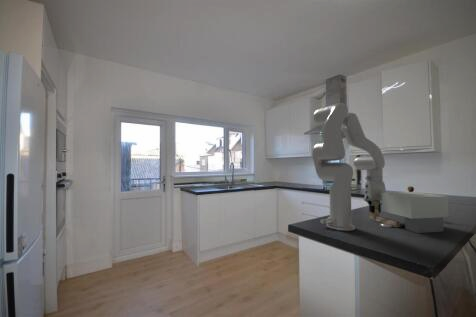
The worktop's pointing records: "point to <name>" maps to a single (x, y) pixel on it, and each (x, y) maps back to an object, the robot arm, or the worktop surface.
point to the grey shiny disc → (385, 225)
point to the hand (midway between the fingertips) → (374, 212)
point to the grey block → (417, 210)
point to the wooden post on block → (376, 217)
